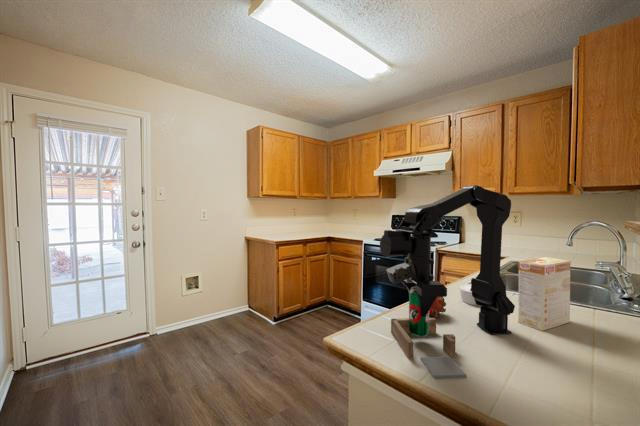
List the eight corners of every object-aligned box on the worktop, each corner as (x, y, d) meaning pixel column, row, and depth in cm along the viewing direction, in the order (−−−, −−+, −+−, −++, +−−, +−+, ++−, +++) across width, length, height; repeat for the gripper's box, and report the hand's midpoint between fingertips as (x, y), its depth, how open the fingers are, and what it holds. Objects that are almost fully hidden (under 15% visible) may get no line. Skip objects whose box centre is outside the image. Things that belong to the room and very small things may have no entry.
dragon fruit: (445, 317, 94) (421, 329, 88) (427, 297, 99) (403, 307, 94) (457, 302, 88) (432, 314, 83) (437, 282, 94) (413, 292, 88)
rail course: (434, 331, 79) (434, 317, 79) (460, 357, 66) (460, 341, 66) (391, 332, 79) (391, 318, 79) (408, 358, 65) (408, 342, 65)
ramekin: (465, 306, 99) (465, 292, 99) (454, 296, 110) (454, 283, 110) (498, 308, 98) (499, 293, 97) (484, 297, 109) (484, 284, 108)
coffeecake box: (544, 314, 91) (545, 256, 91) (571, 322, 85) (572, 260, 84) (516, 322, 86) (517, 260, 85) (542, 331, 79) (543, 264, 79)
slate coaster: (449, 358, 65) (449, 356, 65) (466, 377, 58) (466, 374, 58) (420, 359, 65) (420, 357, 65) (434, 378, 58) (434, 375, 58)
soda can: (430, 338, 70) (430, 292, 70) (410, 336, 71) (410, 291, 71) (427, 329, 75) (427, 286, 75) (408, 328, 76) (408, 285, 76)
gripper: (380, 249, 82) (380, 301, 82) (401, 262, 63) (401, 328, 64) (416, 249, 82) (416, 300, 83) (448, 261, 64) (448, 327, 64)
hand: (419, 312), depth 73 cm, fingers closed on soda can, 5 cm apart
